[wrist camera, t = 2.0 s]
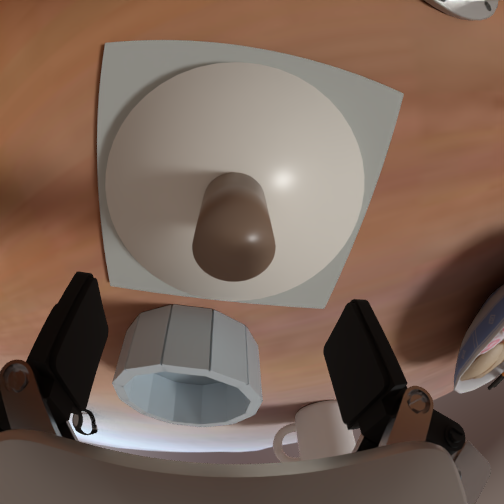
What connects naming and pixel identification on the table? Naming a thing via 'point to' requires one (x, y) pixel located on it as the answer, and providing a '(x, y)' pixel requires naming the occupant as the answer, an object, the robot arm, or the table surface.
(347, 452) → the mug
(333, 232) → the lid
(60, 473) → the robot arm
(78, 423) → the smartwatch
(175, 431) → the table surface
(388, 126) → the mat
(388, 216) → the table surface
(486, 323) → the ramen bowl
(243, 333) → the bowl
